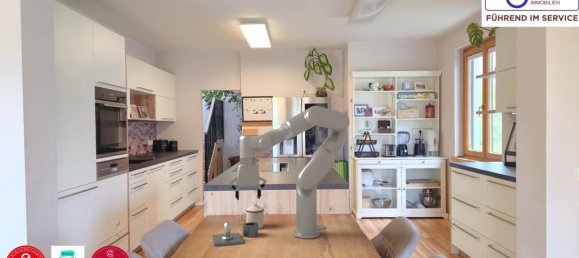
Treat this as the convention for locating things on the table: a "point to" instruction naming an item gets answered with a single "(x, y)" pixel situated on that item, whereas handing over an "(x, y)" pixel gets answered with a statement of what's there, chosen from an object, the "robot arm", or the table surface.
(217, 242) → the shaft block
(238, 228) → the table surface
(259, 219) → the teacup with lid
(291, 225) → the table surface
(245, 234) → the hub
